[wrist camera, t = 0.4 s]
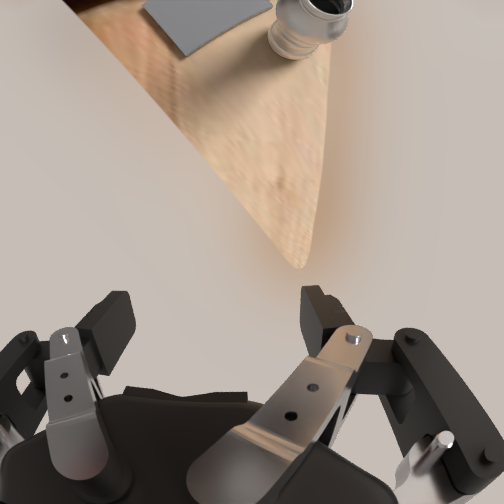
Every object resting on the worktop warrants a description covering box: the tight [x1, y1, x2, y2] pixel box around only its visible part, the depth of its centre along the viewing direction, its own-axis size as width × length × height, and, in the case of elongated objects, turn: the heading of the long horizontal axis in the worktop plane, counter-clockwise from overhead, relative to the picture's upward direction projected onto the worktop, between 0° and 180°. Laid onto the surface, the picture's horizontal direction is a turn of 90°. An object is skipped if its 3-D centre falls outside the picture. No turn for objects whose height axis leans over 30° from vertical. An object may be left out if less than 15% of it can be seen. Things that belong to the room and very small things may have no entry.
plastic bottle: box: [267, 0, 353, 60], centre depth 20 cm, size 6×7×20 cm
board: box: [142, 0, 273, 57], centre depth 24 cm, size 12×14×1 cm
